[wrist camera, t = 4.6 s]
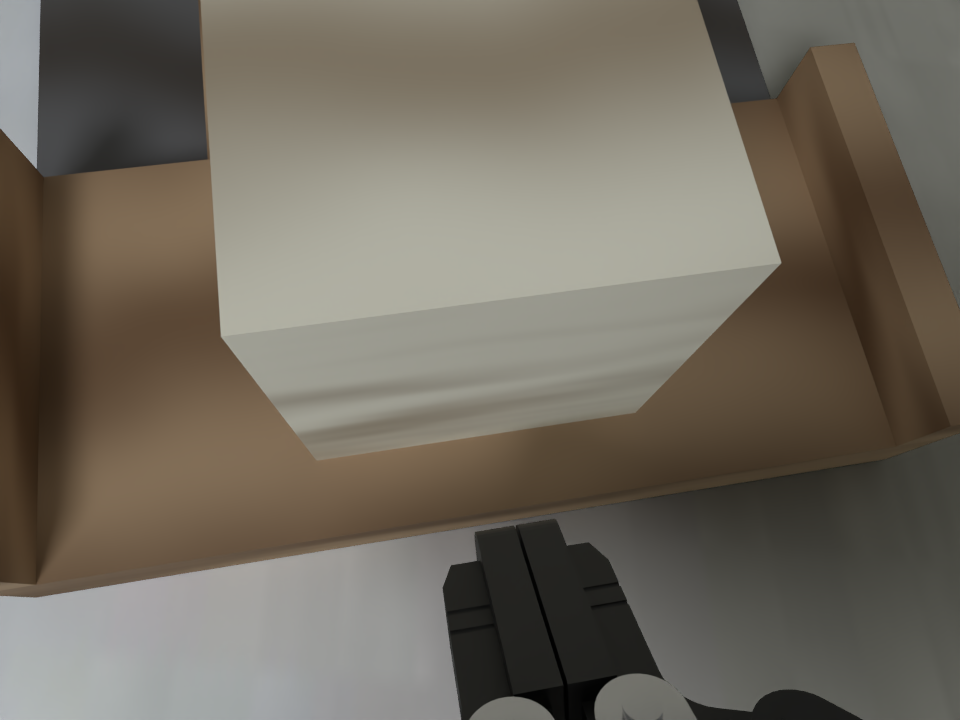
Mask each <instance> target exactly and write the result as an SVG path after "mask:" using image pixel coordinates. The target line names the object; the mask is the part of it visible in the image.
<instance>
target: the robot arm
mask: <svg viewBox="0 0 960 720" xmlns="http://www.w3.org/2000/svg"><path fill="white" fill-rule="evenodd" d="M475 546H476V556H477V561H475V562H469V563H463V564H457V565H451V567H450V570H449V572H448V575H447V578H446V580H445V583H444V586H443V594H444V602H445V610H446V618H447V625H448V633H449V641H450V649H451V655H452V662H453V668H454V674H455V681H456V688H457V694H458V701H459V707H460V714H461V720H862V719H860V718H859V717H857V716H855V715H853V714H851V713H849V712H847V711H845V710H844V709H842V708H840V707H838V706H836V705H834V704H832V703H830V702H829V701H827V700H825V699H823V698H821V697H819V696H816V695H814V694H811V693H808V692H804V691H799V690H779V691H775V692H772V693H769V694H767V695H765V696H764V697H763V698H761V699H760V700H759V701H758V703H757V704H756V705H755V707H754V709H753V712H747V711H738V710H729V709H721V708H714V707H708V706H704V705H701V704H698V703H695V702H693V701H691V700H689V699H687V698H685V697H684V696H683V695H682V694H681V693H680V692H679V691H678V690H677V689H676V688H675V687H673V686H672V685H671V684H670V683H668V682H666V681H665V680H664V678H663V677H662V675H661V673H660V672H659V670H658V668H657V665H656V663H655V661H654V659H653V657H652V654H651V652H650V650H649V648H648V646H647V643H646V641H645V639H644V637H643V635H642V632H641V630H640V628H639V626H638V624H637V621H636V619H635V617H634V615H633V613H632V610H631V608H630V606H629V604H627V599H626V597H625V595H624V593H623V591H622V588H621V586H619V583H618V580H617V577H616V575H615V573H614V571H613V569H612V567H611V564H610V562H609V560H608V559H607V558H606V557H605V556H604V555H602V554H601V553H600V552H599V551H598V550H597V549H596V548H594V547H593V546H592V545H591V544H590V543H589V542H588V543H582V544H576V545H570V546H567V545H566V543H565V540H564V538H563V535H562V533H561V530H560V528H559V525H558V523H557V521H556V520H555V519H551V520H545V521H539V522H533V523H526V524H520V525H516V530H515V527H514V526H509V527H503V528H497V529H490V530H484V531H478V532H475Z"/></svg>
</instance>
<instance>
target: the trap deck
mask: <svg viewBox="0 0 960 720" xmlns="http://www.w3.org/2000/svg"><path fill="white" fill-rule="evenodd" d="M697 1H698V4H699V7H700V10H701V13H702V16H703V20H704V23H705V26H706V29H707V32H708V35H709V38H710V41H711V45H712V48H713V51H714V54H715V57H716V60H717V63H718V66H719V70H720V73H721V76H722V79H723V82H724V85H725V88H726V91H727V94H728V98H729V101H730V104H731V107H732V110H733V113H734V116H735V119H736V123H737V126H738V129H739V132H740V135H741V138H742V141H743V144H744V147H745V151H746V154H747V157H748V160H749V163H750V166H751V169H752V172H753V176H754V179H755V182H756V185H757V188H758V191H759V194H760V197H761V201H762V204H763V207H764V210H765V213H766V216H767V219H768V222H769V225H770V229H771V232H772V235H773V238H774V241H775V244H776V247H777V250H778V254H779V257H780V260H781V264H780V265H779V266H778V267H777V268H776V269H775V270H774V271H773V272H772V273H771V274H770V275H769V276H768V277H767V278H766V279H765V280H764V281H763V283H762V284H761V285H760V286H759V287H758V288H757V289H756V290H755V291H754V292H753V293H752V294H751V295H750V296H749V297H748V298H747V299H746V300H745V301H744V302H743V303H742V304H741V305H740V306H739V307H738V308H737V309H736V310H735V311H734V312H733V313H732V314H731V315H730V316H729V317H728V318H727V319H726V320H725V321H724V322H723V323H722V324H721V326H720V327H719V328H718V329H717V330H716V331H715V332H714V333H713V334H712V335H711V336H710V337H709V338H708V339H707V340H706V341H705V342H704V343H703V344H702V345H701V346H700V347H699V348H698V349H697V350H696V351H695V352H694V353H693V354H692V355H691V356H690V357H689V358H688V359H687V360H686V361H685V362H684V363H683V364H682V365H681V366H680V368H679V369H678V370H677V371H676V372H675V373H674V374H673V375H672V376H671V377H670V378H669V379H668V380H667V381H666V382H665V383H664V384H663V385H662V386H661V387H660V388H659V389H658V390H657V391H656V392H655V393H654V394H653V395H652V396H651V397H650V398H649V399H648V400H647V401H646V402H645V403H644V404H643V405H642V406H641V407H640V408H639V409H638V411H637V412H636V413H631V414H624V415H617V416H611V417H604V418H597V419H591V420H584V421H577V422H571V423H564V424H557V425H551V426H544V427H537V428H531V429H524V430H518V431H511V432H504V433H498V434H491V435H484V436H478V437H471V438H464V439H458V440H451V441H444V442H438V443H431V444H424V445H418V446H411V447H404V448H398V449H391V450H384V451H378V452H371V453H364V454H358V455H351V456H344V457H338V458H331V459H324V460H318V461H316V459H315V458H314V457H313V455H312V454H311V453H310V452H309V450H308V449H307V448H306V446H305V445H304V444H303V442H302V441H301V440H300V439H299V437H298V436H297V435H296V433H295V432H294V431H293V429H292V428H291V427H290V426H289V424H288V423H287V422H286V420H285V419H284V418H283V417H282V415H281V414H280V413H279V411H278V410H277V409H276V407H275V406H274V405H273V404H272V402H271V401H270V400H269V398H268V397H267V396H266V394H265V393H264V392H263V391H262V389H261V388H260V387H259V385H258V384H257V383H256V381H255V380H254V379H253V378H252V376H251V375H250V374H249V372H248V371H247V370H246V368H245V367H244V366H243V365H242V363H241V362H240V361H239V359H238V358H237V357H236V356H235V354H234V353H233V352H232V350H231V349H230V348H229V346H228V345H227V344H226V343H225V341H224V340H223V339H222V337H221V329H220V312H219V296H218V280H217V263H216V247H215V230H214V214H213V198H212V181H211V165H210V148H209V132H208V116H207V99H206V83H205V67H204V50H203V34H202V17H201V1H200V0H41V13H40V57H39V102H38V147H37V169H36V168H35V167H34V166H33V165H32V164H31V162H30V161H29V160H28V159H27V158H26V157H25V156H24V155H23V153H22V152H21V151H20V150H19V149H18V148H17V147H16V146H15V145H14V143H13V142H12V141H11V140H10V139H9V138H8V137H7V136H6V134H5V133H4V132H3V131H2V130H1V129H0V596H17V597H41V596H48V595H54V594H60V593H66V592H72V591H78V590H85V589H91V588H97V587H103V586H109V585H115V584H121V583H128V582H134V581H140V580H146V579H152V578H158V577H164V576H171V575H177V574H183V573H189V572H195V571H201V570H208V569H214V568H220V567H226V566H232V565H238V564H244V563H251V562H257V561H263V560H269V559H275V558H281V557H287V556H294V555H300V554H306V553H312V552H318V551H324V550H331V549H337V548H343V547H349V546H355V545H361V544H367V543H374V542H380V541H386V540H392V539H398V538H404V537H410V536H417V535H423V534H429V533H435V532H441V531H447V530H454V529H460V528H466V527H472V526H478V525H484V524H490V523H497V522H503V521H509V520H515V519H521V518H527V517H533V516H540V515H546V514H552V513H558V512H564V511H570V510H577V509H583V508H589V507H595V506H601V505H607V504H613V503H620V502H626V501H632V500H638V499H644V498H650V497H656V496H663V495H669V494H675V493H681V492H687V491H693V490H700V489H706V488H712V487H718V486H724V485H730V484H736V483H743V482H749V481H755V480H761V479H767V478H773V477H779V476H786V475H792V474H798V473H804V472H810V471H816V470H823V469H829V468H835V467H841V466H847V465H853V464H859V463H866V462H872V461H878V460H884V459H887V458H890V457H893V456H896V455H898V454H901V453H904V452H907V451H910V450H913V449H916V448H918V447H921V446H924V445H927V444H930V443H933V442H936V441H938V440H941V439H944V438H947V437H950V436H953V435H956V434H958V433H960V310H959V307H958V304H957V302H956V299H955V297H954V294H953V292H952V289H951V287H950V284H949V282H948V279H947V277H946V274H945V271H944V269H943V266H942V264H941V261H940V259H939V256H938V254H937V251H936V249H935V246H934V244H933V241H932V238H931V236H930V233H929V231H928V228H927V226H926V223H925V221H924V218H923V216H922V213H921V211H920V208H919V205H918V203H917V200H916V198H915V195H914V193H913V190H912V188H911V185H910V183H909V180H908V178H907V175H906V172H905V170H904V167H903V165H902V162H901V160H900V157H899V155H898V152H897V150H896V147H895V145H894V142H893V139H892V137H891V134H890V132H889V129H888V127H887V124H886V122H885V119H884V117H883V114H882V112H881V109H880V106H879V104H878V101H877V99H876V96H875V94H874V91H873V89H872V86H871V84H870V81H869V79H868V76H867V73H866V71H865V68H864V66H863V63H862V61H861V58H860V56H859V53H858V51H857V48H856V46H855V43H848V44H838V45H828V46H818V47H810V49H809V50H808V52H807V53H806V55H805V56H804V58H803V59H802V61H801V62H800V64H799V65H798V67H797V68H796V70H795V71H794V73H793V75H792V76H791V78H790V79H789V81H788V82H787V84H786V85H785V87H784V88H783V90H782V91H781V93H780V94H779V96H778V97H777V98H776V99H771V98H770V95H769V92H768V89H767V86H766V84H765V81H764V78H763V75H762V72H761V69H760V66H759V63H758V60H757V57H756V54H755V51H754V48H753V45H752V43H751V40H750V37H749V34H748V31H747V28H746V25H745V22H744V19H743V16H742V13H741V10H740V7H739V4H738V2H737V0H697Z"/></svg>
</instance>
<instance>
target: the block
mask: <svg viewBox="0 0 960 720" xmlns="http://www.w3.org/2000/svg"><path fill="white" fill-rule="evenodd" d="M200 1H201V17H202V34H203V50H204V67H205V83H206V99H207V116H208V132H209V148H210V165H211V181H212V198H213V214H214V230H215V247H216V263H217V280H218V296H219V312H220V329H221V337H222V339H223V340H224V341H225V343H226V344H227V345H228V346H229V348H230V349H231V350H232V352H233V353H234V354H235V356H236V357H237V358H238V359H239V361H240V362H241V363H242V365H243V366H244V367H245V368H246V370H247V371H248V372H249V374H250V375H251V376H252V378H253V379H254V380H255V381H256V383H257V384H258V385H259V387H260V388H261V389H262V391H263V392H264V393H265V394H266V396H267V397H268V398H269V400H270V401H271V402H272V404H273V405H274V406H275V407H276V409H277V410H278V411H279V413H280V414H281V415H282V417H283V418H284V419H285V420H286V422H287V423H288V424H289V426H290V427H291V428H292V429H293V431H294V432H295V433H296V435H297V436H298V437H299V439H300V440H301V441H302V442H303V444H304V445H305V446H306V448H307V449H308V450H309V452H310V453H311V454H312V455H313V457H314V458H315V459H316V461H318V460H324V459H331V458H338V457H344V456H351V455H358V454H364V453H371V452H378V451H384V450H391V449H398V448H404V447H411V446H418V445H424V444H431V443H438V442H444V441H451V440H458V439H464V438H471V437H478V436H484V435H491V434H498V433H504V432H511V431H518V430H524V429H531V428H537V427H544V426H551V425H557V424H564V423H571V422H577V421H584V420H591V419H597V418H604V417H611V416H617V415H624V414H631V413H636V412H637V411H638V409H639V408H640V407H641V406H642V405H643V404H644V403H645V402H646V401H647V400H648V399H649V398H650V397H651V396H652V395H653V394H654V393H655V392H656V391H657V390H658V389H659V388H660V387H661V386H662V385H663V384H664V383H665V382H666V381H667V380H668V379H669V378H670V377H671V376H672V375H673V374H674V373H675V372H676V371H677V370H678V369H679V368H680V366H681V365H682V364H683V363H684V362H685V361H686V360H687V359H688V358H689V357H690V356H691V355H692V354H693V353H694V352H695V351H696V350H697V349H698V348H699V347H700V346H701V345H702V344H703V343H704V342H705V341H706V340H707V339H708V338H709V337H710V336H711V335H712V334H713V333H714V332H715V331H716V330H717V329H718V328H719V327H720V326H721V324H722V323H723V322H724V321H725V320H726V319H727V318H728V317H729V316H730V315H731V314H732V313H733V312H734V311H735V310H736V309H737V308H738V307H739V306H740V305H741V304H742V303H743V302H744V301H745V300H746V299H747V298H748V297H749V296H750V295H751V294H752V293H753V292H754V291H755V290H756V289H757V288H758V287H759V286H760V285H761V284H762V283H763V281H764V280H765V279H766V278H767V277H768V276H769V275H770V274H771V273H772V272H773V271H774V270H775V269H776V268H777V267H778V266H779V265H780V264H781V260H780V257H779V254H778V250H777V247H776V244H775V241H774V238H773V235H772V232H771V229H770V225H769V222H768V219H767V216H766V213H765V210H764V207H763V204H762V201H761V197H760V194H759V191H758V188H757V185H756V182H755V179H754V176H753V172H752V169H751V166H750V163H749V160H748V157H747V154H746V151H745V147H744V144H743V141H742V138H741V135H740V132H739V129H738V126H737V123H736V119H735V116H734V113H733V110H732V107H731V104H730V101H729V98H728V94H727V91H726V88H725V85H724V82H723V79H722V76H721V73H720V70H719V66H718V63H717V60H716V57H715V54H714V51H713V48H712V45H711V41H710V38H709V35H708V32H707V29H706V26H705V23H704V20H703V16H702V13H701V10H700V7H699V4H698V1H697V0H200Z"/></svg>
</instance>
